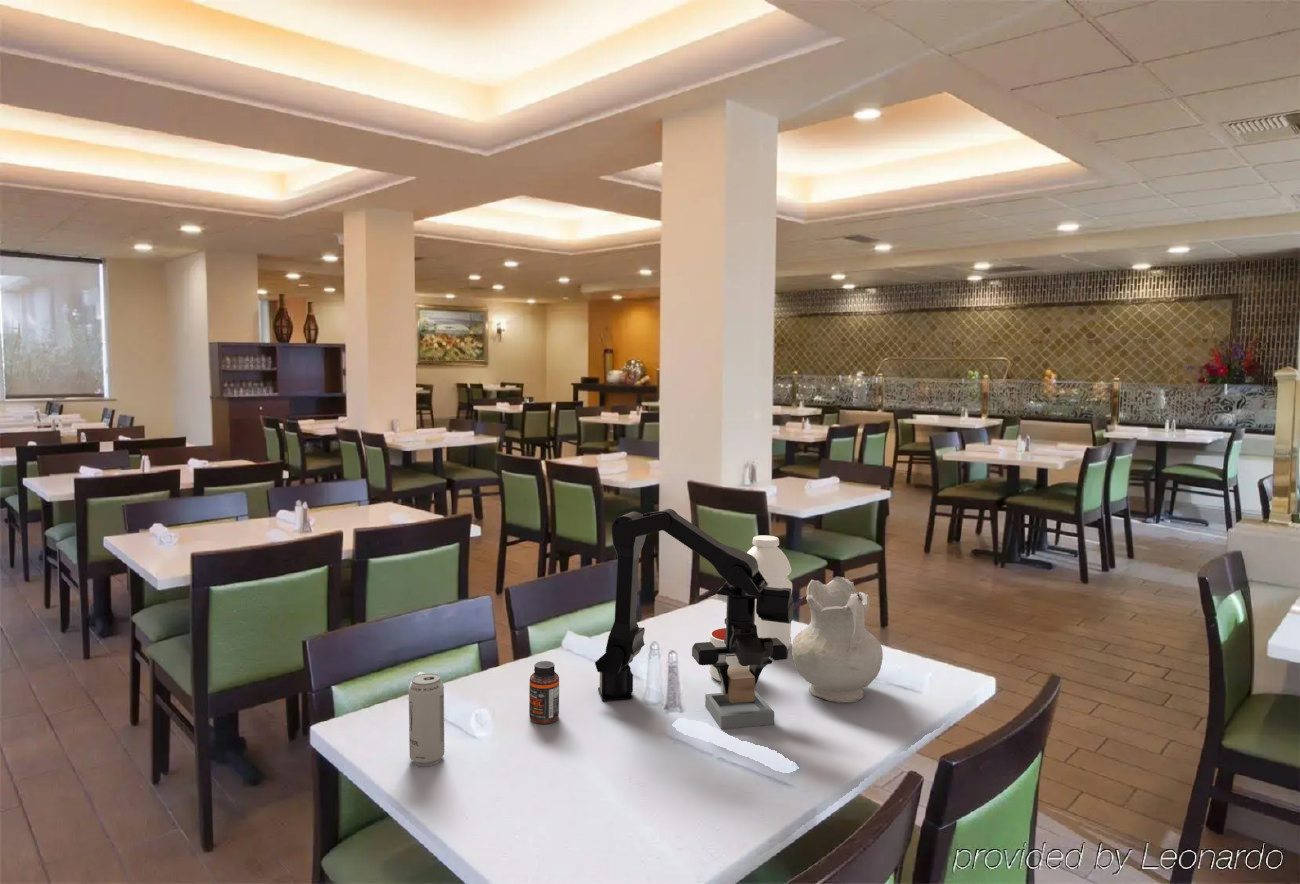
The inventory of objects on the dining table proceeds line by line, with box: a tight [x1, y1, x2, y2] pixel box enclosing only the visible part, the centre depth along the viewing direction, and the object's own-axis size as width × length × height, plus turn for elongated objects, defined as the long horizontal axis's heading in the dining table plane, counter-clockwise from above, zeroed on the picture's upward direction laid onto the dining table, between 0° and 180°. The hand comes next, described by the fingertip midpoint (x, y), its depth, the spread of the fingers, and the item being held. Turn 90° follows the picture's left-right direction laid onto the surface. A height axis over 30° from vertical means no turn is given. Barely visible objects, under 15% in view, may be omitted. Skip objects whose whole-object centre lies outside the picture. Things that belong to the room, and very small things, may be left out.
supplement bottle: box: [528, 660, 560, 725], centre depth 160 cm, size 6×6×11 cm
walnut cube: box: [723, 668, 756, 703], centre depth 163 cm, size 5×5×5 cm
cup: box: [708, 627, 749, 682], centre depth 183 cm, size 10×10×10 cm
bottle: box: [746, 534, 793, 650], centre depth 204 cm, size 14×14×28 cm
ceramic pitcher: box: [791, 575, 884, 704], centre depth 173 cm, size 22×20×25 cm
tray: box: [704, 690, 775, 730], centre depth 163 cm, size 11×11×3 cm
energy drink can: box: [408, 672, 445, 767], centre depth 142 cm, size 6×6×15 cm
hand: (738, 691), depth 163 cm, fingers closed on walnut cube, 5 cm apart
